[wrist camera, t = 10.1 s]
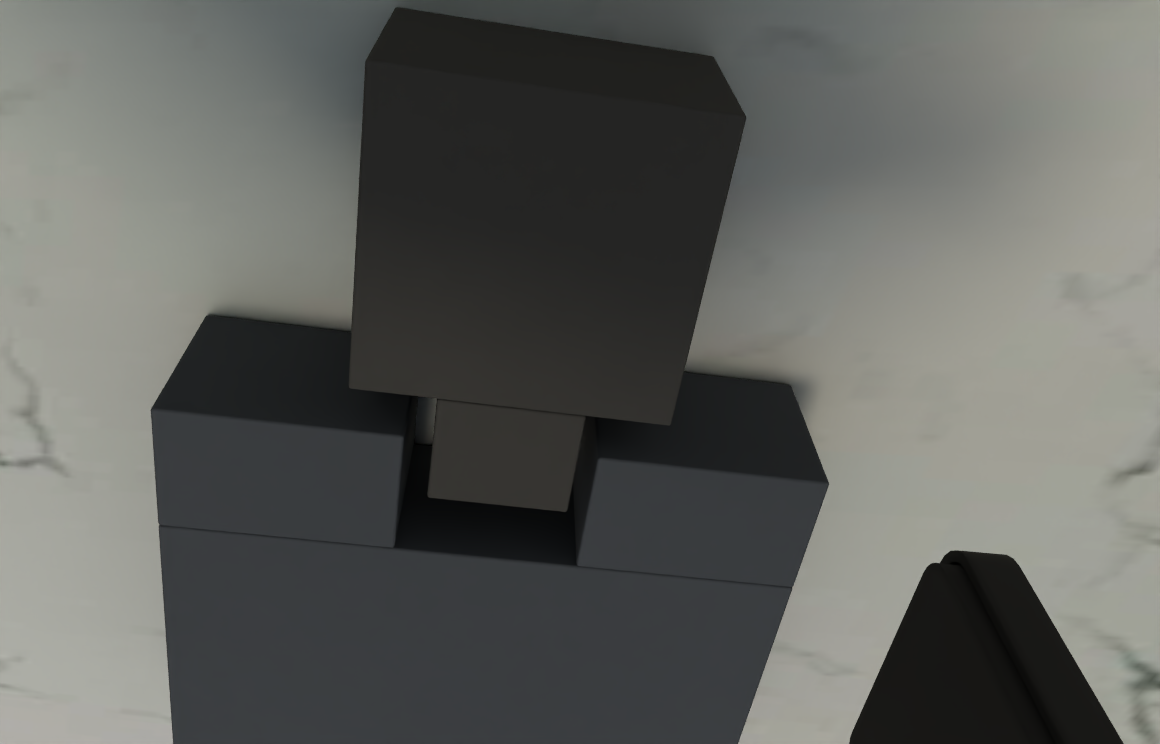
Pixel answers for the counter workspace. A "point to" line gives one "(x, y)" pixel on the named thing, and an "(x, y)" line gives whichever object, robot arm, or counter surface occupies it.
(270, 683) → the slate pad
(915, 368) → the counter surface
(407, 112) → the dark tabbed block
